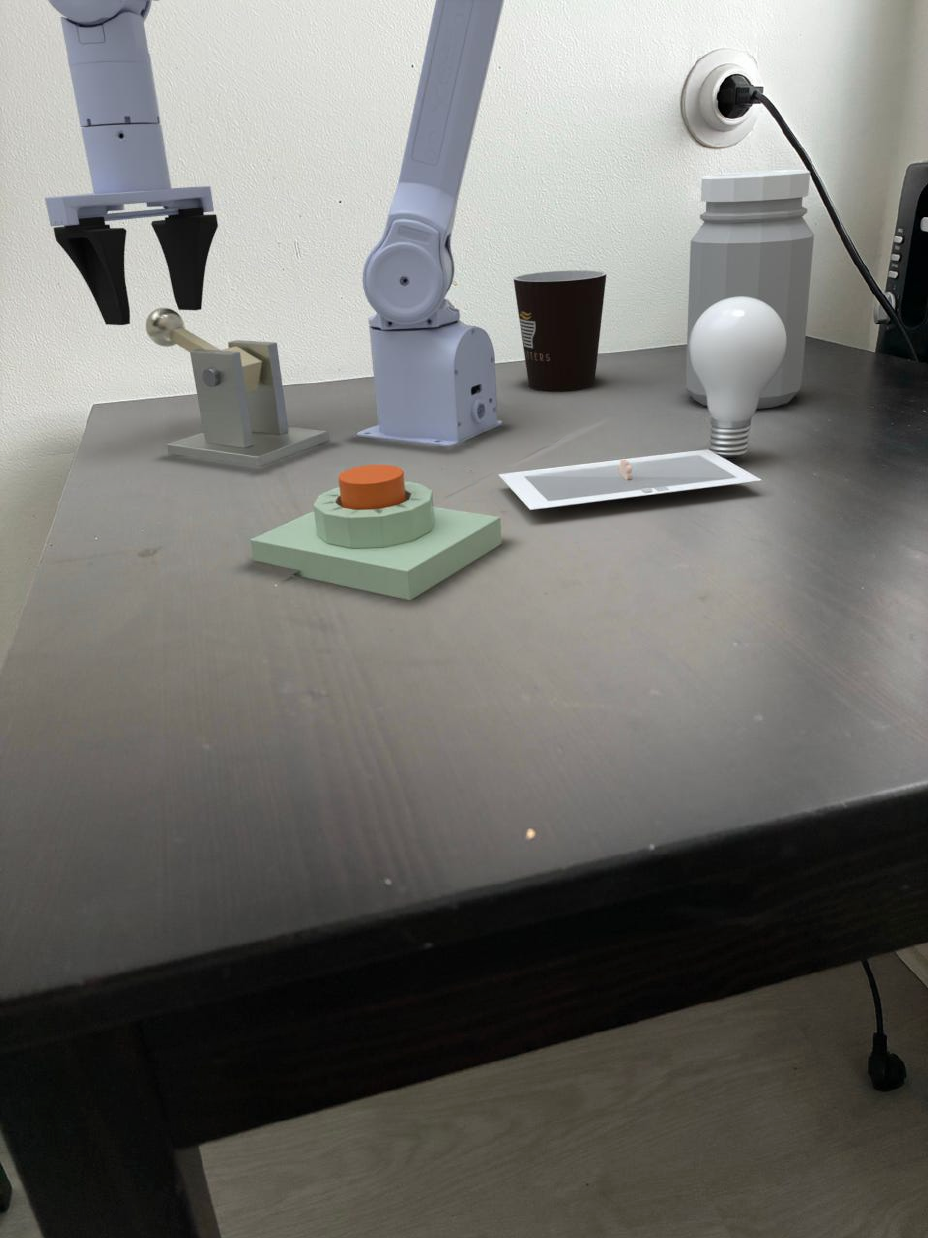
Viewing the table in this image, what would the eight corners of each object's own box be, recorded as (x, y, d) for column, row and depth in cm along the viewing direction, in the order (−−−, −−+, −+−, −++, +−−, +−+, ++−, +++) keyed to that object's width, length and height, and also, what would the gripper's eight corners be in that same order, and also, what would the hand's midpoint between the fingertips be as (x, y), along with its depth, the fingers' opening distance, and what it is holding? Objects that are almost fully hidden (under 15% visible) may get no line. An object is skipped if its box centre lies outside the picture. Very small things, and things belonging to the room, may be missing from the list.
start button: (418, 498, 56) (416, 468, 55) (379, 517, 53) (376, 486, 53) (368, 490, 58) (365, 461, 57) (328, 509, 55) (324, 478, 55)
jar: (663, 396, 89) (668, 177, 82) (752, 382, 92) (765, 169, 85) (730, 417, 81) (743, 175, 73) (826, 400, 84) (848, 167, 77)
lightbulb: (781, 452, 72) (798, 292, 67) (765, 475, 66) (783, 302, 62) (693, 445, 74) (704, 290, 70) (671, 466, 69) (682, 300, 64)
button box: (501, 544, 57) (499, 486, 56) (410, 601, 51) (404, 537, 49) (354, 519, 63) (348, 465, 62) (254, 567, 56) (244, 508, 55)
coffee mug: (611, 390, 93) (611, 277, 88) (518, 395, 93) (514, 283, 89) (597, 367, 103) (597, 265, 99) (514, 371, 103) (511, 270, 99)
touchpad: (498, 490, 67) (497, 458, 66) (707, 464, 69) (708, 434, 69) (530, 526, 60) (529, 492, 59) (760, 496, 62) (763, 463, 62)
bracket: (168, 458, 79) (149, 352, 76) (240, 434, 85) (225, 335, 82) (260, 472, 74) (243, 359, 71) (329, 445, 80) (317, 340, 77)
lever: (136, 339, 80) (138, 304, 78) (165, 333, 82) (168, 299, 80) (233, 399, 76) (238, 363, 75) (261, 391, 79) (266, 356, 77)
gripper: (157, 129, 81) (185, 302, 87) (2, 130, 70) (46, 329, 76) (221, 123, 78) (246, 304, 83) (68, 123, 66) (109, 332, 72)
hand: (155, 316), depth 79 cm, fingers open, 7 cm apart
